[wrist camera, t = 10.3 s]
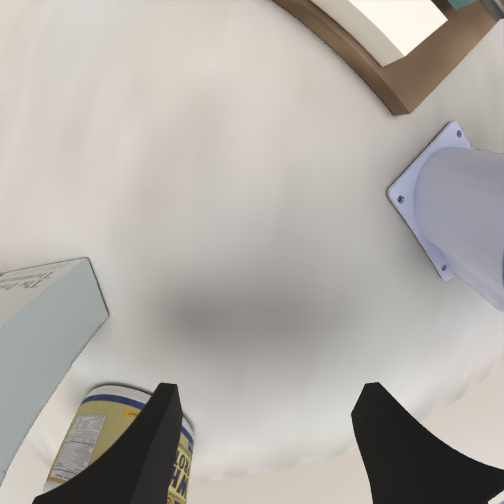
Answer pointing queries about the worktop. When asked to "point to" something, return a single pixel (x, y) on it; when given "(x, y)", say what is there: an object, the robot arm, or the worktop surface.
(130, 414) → the supplement tub
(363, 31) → the white rectangular block
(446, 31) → the panel
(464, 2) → the teal button
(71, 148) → the worktop surface
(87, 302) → the skincare box
